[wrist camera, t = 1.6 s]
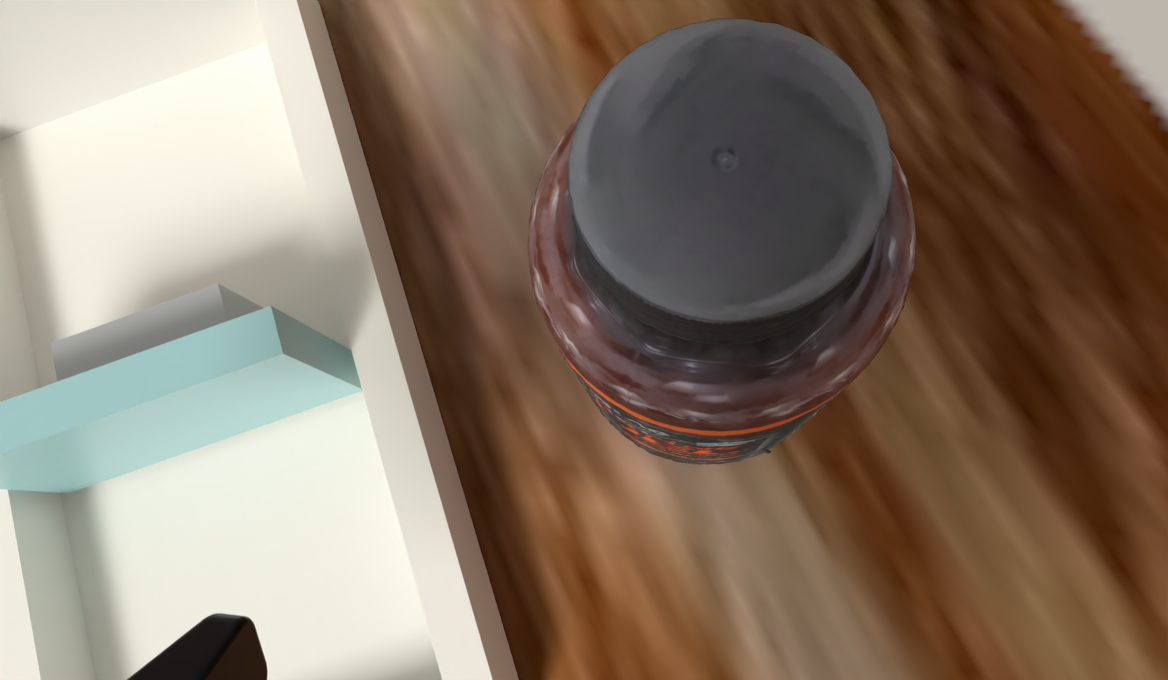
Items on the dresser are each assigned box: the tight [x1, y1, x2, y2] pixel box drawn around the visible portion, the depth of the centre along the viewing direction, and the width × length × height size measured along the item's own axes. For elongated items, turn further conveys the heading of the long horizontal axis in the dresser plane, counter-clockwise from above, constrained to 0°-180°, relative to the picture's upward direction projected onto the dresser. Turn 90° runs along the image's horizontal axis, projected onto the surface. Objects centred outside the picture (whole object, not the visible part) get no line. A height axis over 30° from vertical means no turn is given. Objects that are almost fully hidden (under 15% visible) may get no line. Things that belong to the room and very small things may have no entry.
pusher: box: [0, 284, 362, 494], centre depth 20 cm, size 3×8×4 cm, turn 108°
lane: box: [0, 0, 519, 680], centre depth 20 cm, size 20×10×7 cm, turn 18°
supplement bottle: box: [528, 19, 916, 464], centre depth 17 cm, size 6×6×11 cm
